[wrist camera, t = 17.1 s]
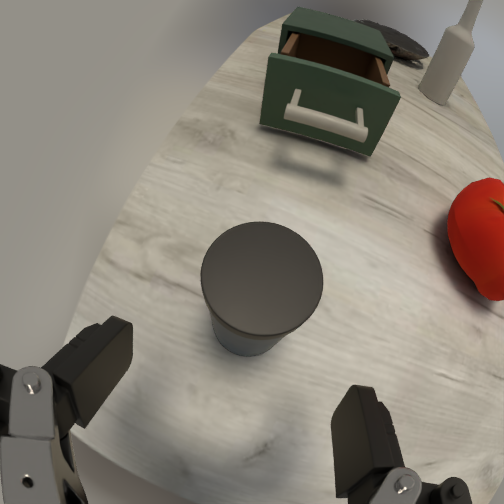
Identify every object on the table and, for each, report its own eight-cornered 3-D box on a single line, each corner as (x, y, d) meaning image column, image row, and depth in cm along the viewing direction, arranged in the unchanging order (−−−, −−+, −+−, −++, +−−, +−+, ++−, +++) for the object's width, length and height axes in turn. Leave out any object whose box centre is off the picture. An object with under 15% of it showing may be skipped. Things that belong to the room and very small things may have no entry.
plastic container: (202, 346, 18) (183, 314, 10) (223, 280, 20) (222, 208, 12) (274, 365, 18) (311, 349, 10) (289, 299, 20) (330, 238, 12)
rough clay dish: (436, 71, 51) (443, 58, 47) (398, 68, 45) (405, 51, 40) (380, 35, 59) (384, 22, 54) (332, 29, 53) (336, 14, 48)
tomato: (422, 195, 27) (462, 143, 19) (489, 223, 26) (527, 186, 19) (437, 304, 21) (502, 264, 13) (506, 315, 21) (559, 287, 13)
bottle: (419, 92, 40) (466, -17, 15) (417, 82, 43) (459, -17, 18) (446, 109, 39) (498, 5, 14) (443, 97, 42) (488, 2, 17)
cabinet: (368, 117, 32) (394, 57, 23) (271, 89, 33) (282, 23, 24) (363, 76, 39) (379, 30, 30) (288, 55, 39) (297, 6, 30)
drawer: (371, 187, 25) (409, 124, 17) (247, 151, 25) (255, 76, 18) (365, 99, 33) (383, 52, 26) (281, 74, 34) (290, 24, 26)
